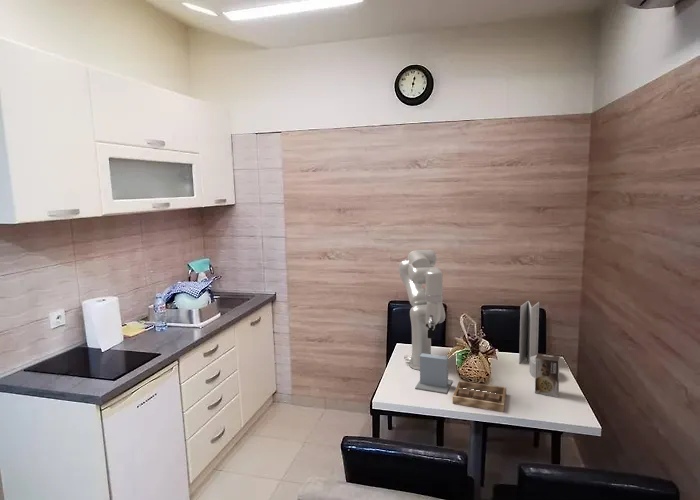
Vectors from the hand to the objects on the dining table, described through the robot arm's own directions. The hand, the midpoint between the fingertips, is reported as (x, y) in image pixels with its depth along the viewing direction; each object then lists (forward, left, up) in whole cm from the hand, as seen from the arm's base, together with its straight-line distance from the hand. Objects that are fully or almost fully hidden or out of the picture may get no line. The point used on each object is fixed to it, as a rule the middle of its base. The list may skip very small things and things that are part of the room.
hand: (433, 334), depth 191 cm
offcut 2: (+21, -10, -24) cm, 33 cm away
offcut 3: (+27, -10, -24) cm, 38 cm away
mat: (0, 0, -24) cm, 24 cm away
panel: (0, 0, -23) cm, 23 cm away
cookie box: (+47, +10, -24) cm, 54 cm away
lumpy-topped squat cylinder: (+46, +28, -24) cm, 59 cm away
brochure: (+39, +46, -24) cm, 65 cm away
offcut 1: (+15, -10, -24) cm, 30 cm away
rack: (+21, -7, -24) cm, 32 cm away
